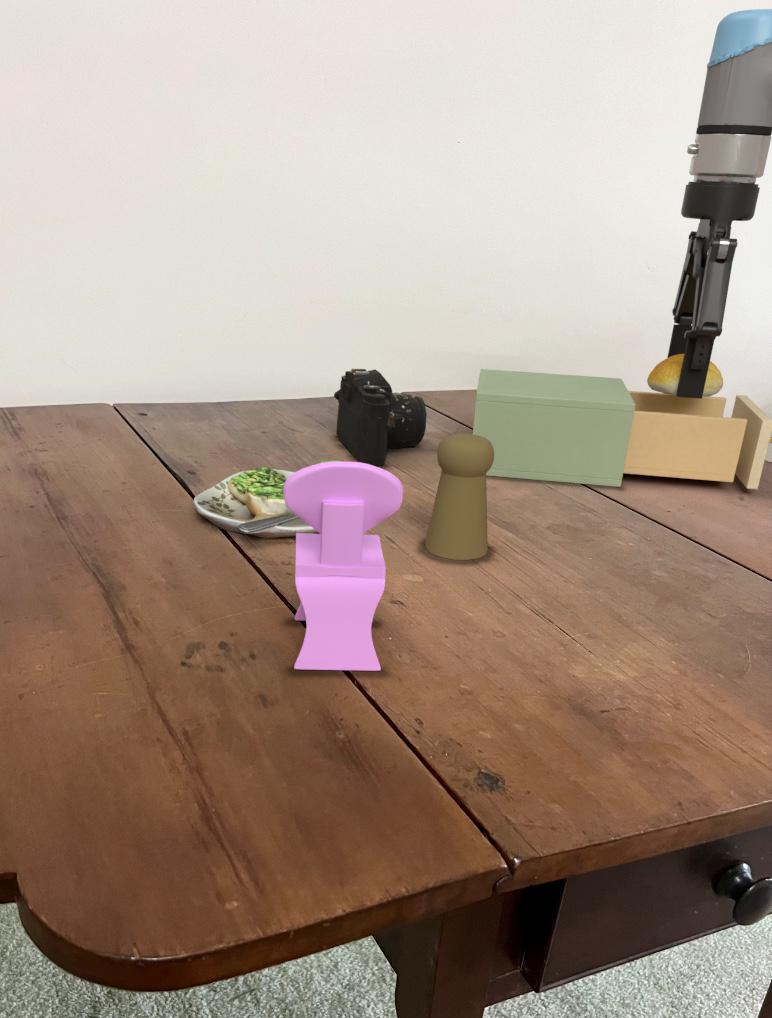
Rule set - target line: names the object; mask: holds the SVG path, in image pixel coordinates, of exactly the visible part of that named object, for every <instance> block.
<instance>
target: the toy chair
mask: <svg viewBox="0 0 772 1018" xmlns="http://www.w3.org/2000/svg"><path fill="white" fill-rule="evenodd" d="M319 463H320V462H319ZM294 472H295V473H293V474H292V475H291V476H289V477H288V478H287V480H286V481H285V483H284V486H283V496H284V501H285V504H286V506H287V507H288V509H289V510H290V511H291V512H292V513H293V514H295V515H296V516H297V517H299V518H300V519H301V521H303V522H304V523H306V524H308V525H309V526H311V527H312V528H314V529H315V530H316V531H317V532H318V533H319V534H310V533H296V536H295V570H294V571H295V574H294V575H295V577H294V579H295V580H294V581H295V582H294V585H295V590H296V593H297V595H298V598H299V600H300V604H299V606H298V608H297V610H296V613H295V615H294V620H295V621H302V622H303V621H304V622H305V623H306V625H305V626H306V628H305V634H304V639H303V643H302V645H301V647H300V650H299V653H298V655H297V658H296V660H295V662H294V665H293V669H294V670H303V671H305V670H309V671H310V670H313V671H361V672H362V671H365V672H368V671H371V672H377V671H378V672H379V671H381V670H382V668H381V667H382V666H381V664H380V661H379V658H378V656H377V653H376V649H375V646H374V641H373V636H372V624H373V622H374V616H375V613H376V610H377V607H378V605H379V603H380V600H381V599H382V596H383V593H384V591H385V589H386V588H385V587H386V571H387V567H386V562H385V557H384V554H383V549H382V543H381V538H380V535H379V534H366V533H367V532H368V531H370V530H371V529H373V528H375V527H376V526H378V525H380V524H382V523H383V522H384V521H385V520H387V519H388V518H390V517H392V516H393V515H395V514H396V513H397V512H398V510H400V508H401V506H402V504H403V498H404V486H403V483H402V482H401V480H400V479H399V477H398V476H396V475H395V474H394V473H392V472H389V471H388V470H386V469H385V468H381V467H379V466H373V465H370V464H365V463H361V462H359V461H345V462H341V461H334V462H325V463H320V464H318V463H316V464H312V465H309V466H306V467H304V468H301V469H299V470H297V471H294Z"/></svg>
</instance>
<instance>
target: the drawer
mask: <svg viewBox="0 0 772 1018" xmlns="http://www.w3.org/2000/svg"><path fill="white" fill-rule="evenodd" d="M628 392H629V394H630V395H631V397H632V399H633V401H634V403H635V410H634V415H633V421H632V427H631V432H630V438H629V443H628V449H627V455H626V460H625V466H624V471H623V474H628V475H639V476H652V477H665V478H674V479H675V478H676V479H677V478H678V479H688V480H689V479H690V480H702V481H712V482H713V481H714V482H724V483H734V480H735V475H736V477H738V479H739V480H740V482H741V483H742V484H743V485H744V487H745V488H746V489H750V490H759V485H760V481H761V478H762V473H763V469H764V464H765V461H766V456H767V451H768V448H769V444H772V418H771V417H770V416H769V415H768V414H766V413H765V412H764V411H763V410H762V409H761V407H759V406H758V405H757V404H756V403H755V402H754V401H753V400H752V399H750V397H748V396H747V395H743V394H742V395H741V394H736V396H735V399H734V405H733V409H732V413H731V417H727V416H726V417H725V416H724V413H725V408H726V403H727V398H726V397H723V396H707V397H702V399H699V398H685V397H677V396H675V395H669V394H665V393H661V392H653V391H651V392H649V391H637V390H636V391H635V390H628Z"/></svg>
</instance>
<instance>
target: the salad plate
mask: <svg viewBox="0 0 772 1018" xmlns="http://www.w3.org/2000/svg"><path fill="white" fill-rule="evenodd" d="M334 461H341V462H346V461H345V460H342V459H327V460H321V462H318V463H317V464H320V463H325V462H334ZM295 472H296V471H290V470H285V469H277V468H272V467H270V466H267V467H265V466H262V467H261V468H250V469H248V470H242V471H240V472H235V473H234V474H231V475H229V476H228V477H226V478H225V479H223V480H221V481H220V482H218V483H217V484H215V485H212V486H211V488H208V489H205V490H204V491H202V492H200V493H199V494H197V495H196V496H195V497H194V498H193V508H194V509H195V510H196V511H197V513H198V514H199V515H201V517H203V518H205V519H206V520H208V521H209V522H210V523H212V524H213V525H214V526H215V527H217V528H219V529H222V530H224V531H228V532H234V533H239V534H245V535H252V536H256V537H260V538H265V539H274V538H288V537H289V538H290V537H296V533H310V534H319V533H318V532H317V531H316V530H315V529H314V528H312V527H311V526H309V525H308V524H306V523H304V522H303V521H301V519H300V518H299V517H297V516H296V515H295V514H293V513H292V512H291V511H290V510H289V509H288V507H287V506H286V504H285V501H284V496H283V486H284V483H285V481H286V480H287V478H288V477H289V476H291V475H292V474H293V473H295Z"/></svg>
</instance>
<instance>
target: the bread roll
mask: <svg viewBox="0 0 772 1018" xmlns="http://www.w3.org/2000/svg"><path fill="white" fill-rule="evenodd" d="M683 359H684V354H678V355H673V356H671V357H669V358H665V359H664V360H662V361H660V362H659V363H657V364H656V365H655V366H654V368H653V369H652V371H651V372H650V373H649V374H648V377H647V379H646V381H647V382H646V383H647V385H648V387H649V388H650V390H652V391H655V392H656V393H665V394H669V395H675V396H676V394H677V389H678V384H679V379H680V374H681V369H682V364H683ZM723 387H724V378H723V375H722V372H721V370H720V369H719V368H718V367H717V365H716V364H715V363H714V362H712V361H711V360H710V363H709V368H708V373H707V377H706V382H705V387H704V391H703V396H702V397H707V396H710V397H713V396H714V395H717V394H718V393H719V392H720V391H721V390H722V389H723Z"/></svg>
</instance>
